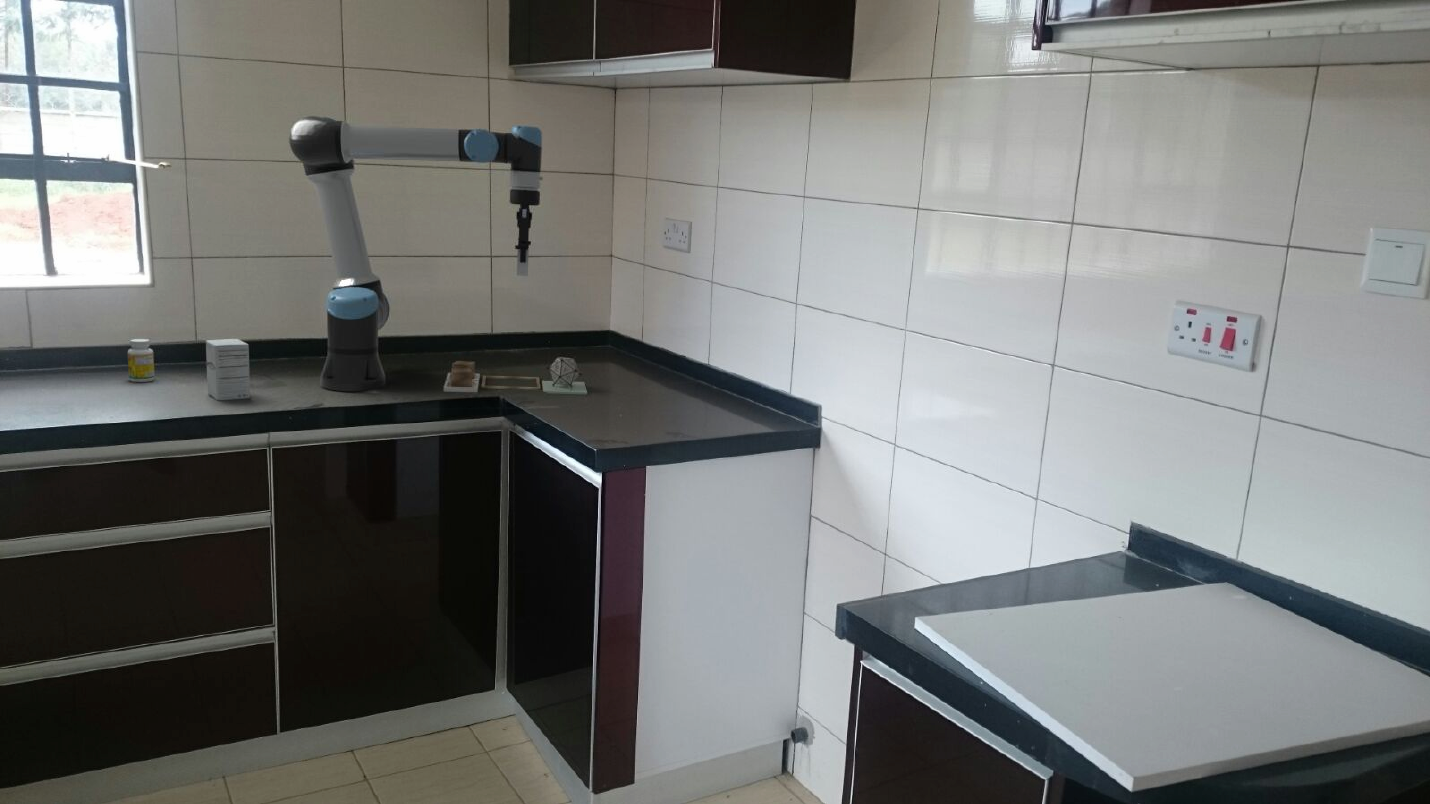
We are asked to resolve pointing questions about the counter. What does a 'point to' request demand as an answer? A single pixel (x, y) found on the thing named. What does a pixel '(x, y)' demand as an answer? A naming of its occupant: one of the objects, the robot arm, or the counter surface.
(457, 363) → the block back
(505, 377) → the oak frame
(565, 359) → the game die
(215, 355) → the supplement box
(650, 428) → the counter surface
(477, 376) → the dish back
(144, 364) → the supplement bottle
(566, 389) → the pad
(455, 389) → the dish front
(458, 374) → the block front
